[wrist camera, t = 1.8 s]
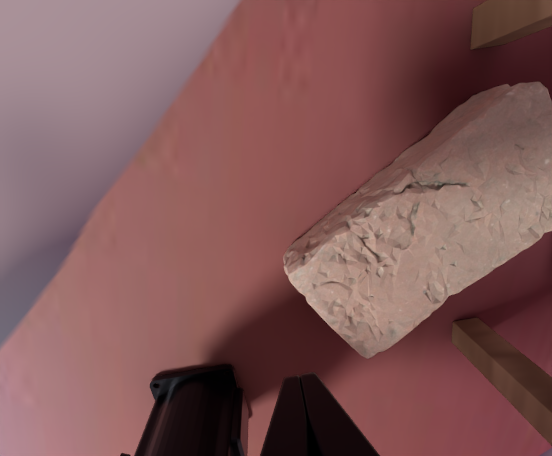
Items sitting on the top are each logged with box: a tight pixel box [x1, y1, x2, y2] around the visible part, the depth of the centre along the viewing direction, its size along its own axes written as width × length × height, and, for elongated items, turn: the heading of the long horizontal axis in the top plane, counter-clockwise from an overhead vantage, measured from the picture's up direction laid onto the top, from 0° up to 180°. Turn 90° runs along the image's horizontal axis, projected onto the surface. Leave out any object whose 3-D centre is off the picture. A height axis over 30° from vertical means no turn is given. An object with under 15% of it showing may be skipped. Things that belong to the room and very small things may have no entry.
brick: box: [284, 82, 552, 359], centre depth 17 cm, size 17×8×5 cm, turn 131°
